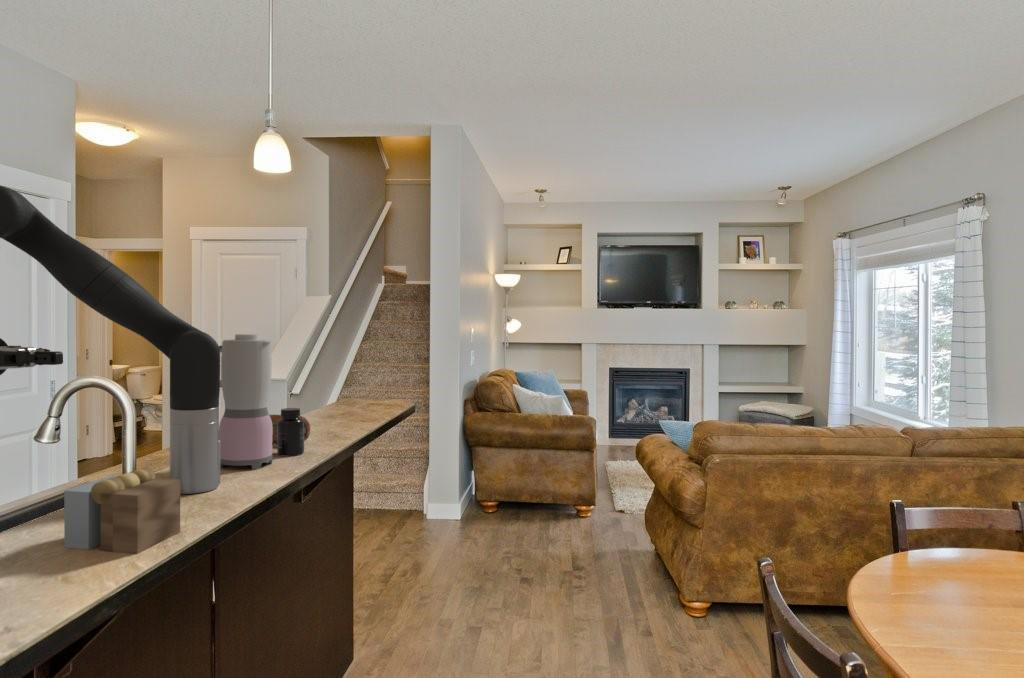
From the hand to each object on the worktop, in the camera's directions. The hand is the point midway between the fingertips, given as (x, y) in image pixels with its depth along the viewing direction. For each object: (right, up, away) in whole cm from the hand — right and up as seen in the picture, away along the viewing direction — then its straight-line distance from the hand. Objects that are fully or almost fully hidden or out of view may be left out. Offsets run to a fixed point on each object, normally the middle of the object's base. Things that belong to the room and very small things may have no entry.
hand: (59, 358), depth 108 cm
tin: (+12, -27, +73) cm, 79 cm away
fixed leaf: (+16, -30, -5) cm, 34 cm away
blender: (+11, -28, +47) cm, 56 cm away
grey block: (+12, -29, -5) cm, 32 cm away
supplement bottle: (+18, -27, +60) cm, 69 cm away
